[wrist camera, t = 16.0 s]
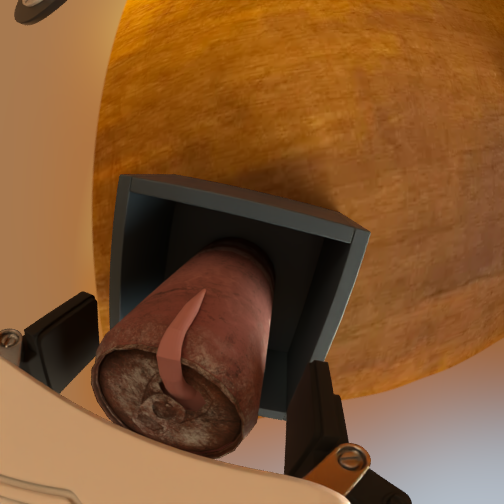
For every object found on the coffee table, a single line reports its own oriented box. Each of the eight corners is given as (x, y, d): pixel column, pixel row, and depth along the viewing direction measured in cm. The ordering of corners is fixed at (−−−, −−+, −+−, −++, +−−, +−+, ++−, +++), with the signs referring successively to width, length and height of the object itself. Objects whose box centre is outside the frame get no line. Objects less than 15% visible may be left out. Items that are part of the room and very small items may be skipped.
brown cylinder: (280, 236, 20) (267, 354, 6) (270, 317, 21) (247, 478, 8) (196, 228, 20) (62, 309, 7) (194, 307, 22) (104, 439, 9)
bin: (155, 318, 24) (111, 368, 16) (174, 174, 20) (119, 174, 13) (294, 356, 23) (294, 422, 16) (340, 212, 20) (371, 232, 12)
